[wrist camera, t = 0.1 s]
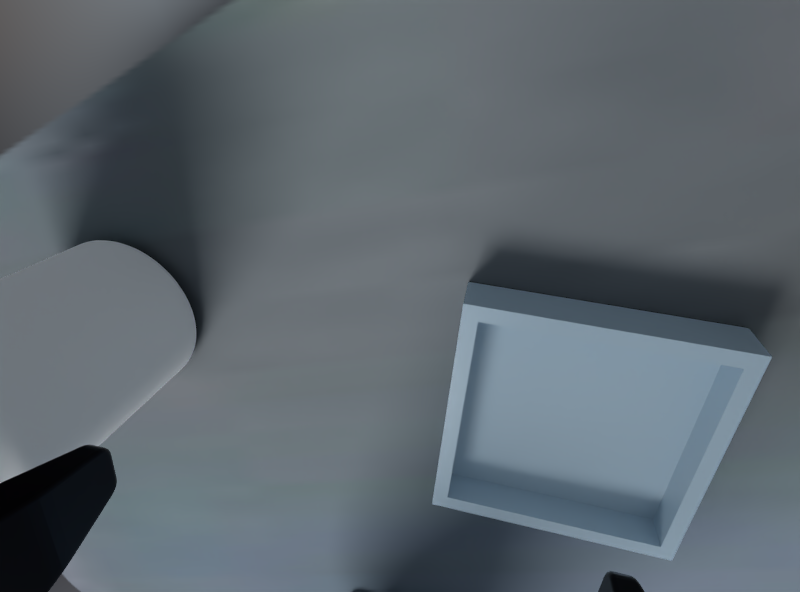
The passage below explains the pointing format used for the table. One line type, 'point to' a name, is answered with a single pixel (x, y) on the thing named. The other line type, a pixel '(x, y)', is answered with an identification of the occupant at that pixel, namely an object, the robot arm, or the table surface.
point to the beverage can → (84, 348)
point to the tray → (590, 416)
